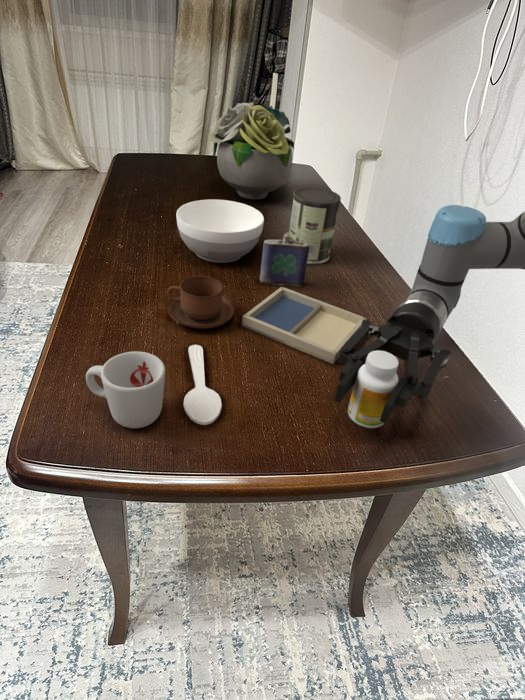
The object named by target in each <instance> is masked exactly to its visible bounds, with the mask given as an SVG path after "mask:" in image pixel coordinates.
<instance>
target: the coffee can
mask: <svg viewBox="0 0 525 700" xmlns="http://www.w3.org/2000/svg"><path fill="white" fill-rule="evenodd" d="M292 196H293V199H292V207H291V214H290V223H289V230H288V232H290V237H291V238H292V239H293V240H297V241H298V240H301V241H302V242H306V243H307V244H309V253H308V259H307V265H320V264H324V263H326V262H328V261H329V260H330V259H331V258H330V257H331V250H332V245H333V239H334V233H335V230H336V229H335V228H336V222H337V218H338V212H339V207H340V203H341V200H342V198H341V196H340V194H339V193H337V192H336V191H332V190H329V189H326V188H321V187H313V186H305V187H299V188H296V189H295V190H294V191H293V194H292ZM299 242H300V241H299Z"/></svg>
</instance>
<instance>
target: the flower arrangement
mask: <svg viewBox="0 0 525 700" xmlns="http://www.w3.org/2000/svg"><path fill="white" fill-rule="evenodd" d="M287 125H288V126H287ZM286 126H287V127H286ZM290 126H291V124H290V120H289V118H288V117H287V115H286V113H285V112H284V111H283V110H282V111H280V110H278V109H275V108H274V106H272V105H270V106H266V105H265V104H263V103H261V102H259V103H254V101H250V102H241V103H239V102H238V103H237V104H236V105H235V106H234V107H232V106H228V108H227V110H226V112H225V113H224V114H223V115H222V116H221V117H220V118H218V119H217V121H216V124H215V127H214V129H213V131H212V133H210V135H209V138H208V140H209V141H210V142H212V143H213V159H214V160H215V159H216V165H217V169H218V172H219V175H220V176H221V178H222V179H223V181H225V182H226V183H227V184H228V186H230V187H232V188H234V189H235V190H236V193H237V194H238V195H239V197H241V198H243V199H247V200H263V199H265V198H267V196H268V194H269V193H270V192H273V191H275V190H277V189H279V188H280V187H282V186H283V185H285V184H286V183H287V181H288V179H289V177H290V174H291V170H292V164H293V150H294V149H295V142H294V140H292V138H289V137H287V136H286V134H290V133H291V132H292V131H291V127H290ZM285 127H286V128H285ZM216 153H217V154H216ZM215 157H216V158H215Z"/></svg>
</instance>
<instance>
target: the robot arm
mask: <svg viewBox="0 0 525 700" xmlns="http://www.w3.org/2000/svg"><path fill="white" fill-rule="evenodd" d="M494 269H495V270H525V210H524V211H523V212H521V213H520V214H519V215H517V216H516V217H515V218H514V219H513V220H511V221H487V217H486V215H485V214H484V213H483V212H482V211H480V210H478V209H476V208H473V207H469V206H463V205H459V204H448V205H445V206H442V207H441V208H439V209H438V210H437V212H436V214H435V216H434V219H433V221H432V223H431V225H430V228H429V230H428V234H427V240H426V243H425V247H424V250H423V254H422V258H421V261H420V264H419V266H418V269H417V270H416V271H417V272H416V275H415V278H414V282H413V285H412V287H411V289H410V291H409V293H408V294H407V296H406V297H405V298H404V300H403V301H402V302H401V303H400V304H399V306H398V307H397V308H396V309H395V310H394V312H393V313H392V315H390V317H388V320H387V321H386V322H385V323H383V324H380V325H379V326H374V325H371V321H370V320H369V319H366V320H363V321H362V324H361V328H360V329H359V330H358V331H357V332H356V333H355V334H354V335H353V336H352V337H351V338H350V339H349V340H348V341H347V342H346V343H345V344H344V345H343V347H342V348H341V351H340V356H339V358H338V359H337V364H338V365H339V366H342V368H341V369H340V373H339V377H338V378H339V379H338V381H339V382H338V384H337V388H336V392H335V397H334V402H337V403H339V404H340V403H341V402H342V401H343V399H344V398H346V395H347V394H348V393H349V391H350V390H351V388H353V387H354V383H355V379H356V375H357V372H358V370H359V368H360V367H361V366H362V365H364V364H365V362H366V359H367V356H368V354H369V353H370V352H372V351H385V352H388V353H390V354H392V355H394V356H395V357H396V358H399V359H400V360H403V368H404V369H403V371H404V373H403V376H402V377H400V379H399V382H398V384H397V386H396V387H395V389H394V390H393V392H392V394H391V395H390V397H389V399H388V400H387V402H386V403H385V406H384V409H383V412H382V415H381V418H380V421H381V422H384V424H386V423H387V422H388V420H389V419H390V416H391V415H392V413H393V411H394V410H395V409H396V406H398V407H400V408H404V407H406V406H407V404H408V402H409V401H410V399H411V397H412V396H417V397H418V398H419V399H421V400H426V399H427V398H428V396H429V395H430V391H431V390H432V387H433V385H434V383H435V380H436V379H437V376H438V373H439V372H440V371H442V370H443V369H445V368H446V366H447V363H448V361H449V358H450V356H451V351H450V350H448V349H442V350H438V349H437V348H435V341H436V340H437V339H438V336H439V334H440V333H441V331H442V329H443V328H444V326H445V324H446V322H447V320H448V318H449V317H450V315H451V313H452V312H453V310H454V309H455V308H456V307H457V305H458V303H459V300H460V298H461V293H462V288H463V285H464V283H465V281H466V278H467V275H468V273H469V271H470V270H494ZM374 336H376V338H377V339H376V340H375V341H373V342H371V343H369V344H368V345H366V346H364V345H365V344H366V343H367V341H368V342H369V341H370V340H371V338H373V337H374ZM427 357H430V358H429V361H430V365H429V366H428V369H427V371H426V373H425V376H424V377H423V380H419V377H420V375H418V374H419V373H418V369H419V359H423V358H427Z"/></svg>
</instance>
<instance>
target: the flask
mask: <svg viewBox="0 0 525 700" xmlns="http://www.w3.org/2000/svg"><path fill="white" fill-rule="evenodd" d="M283 234H284V235H283V237H282V239H265V240H264V241H263V244H262V254H261V255H262V256H261V264H260V274H259V282H260V284H264V285H275V286H287V287H288V286H292V287H303V285H304V283H305V278H306V271H307V265H308V264H307V259H308V253H309V244H307V243H306V242H302V241H301V240H298V241H297V240H293V239H292V238H291V237H290V232H289V231H287V232H283ZM299 241H300V242H299Z"/></svg>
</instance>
